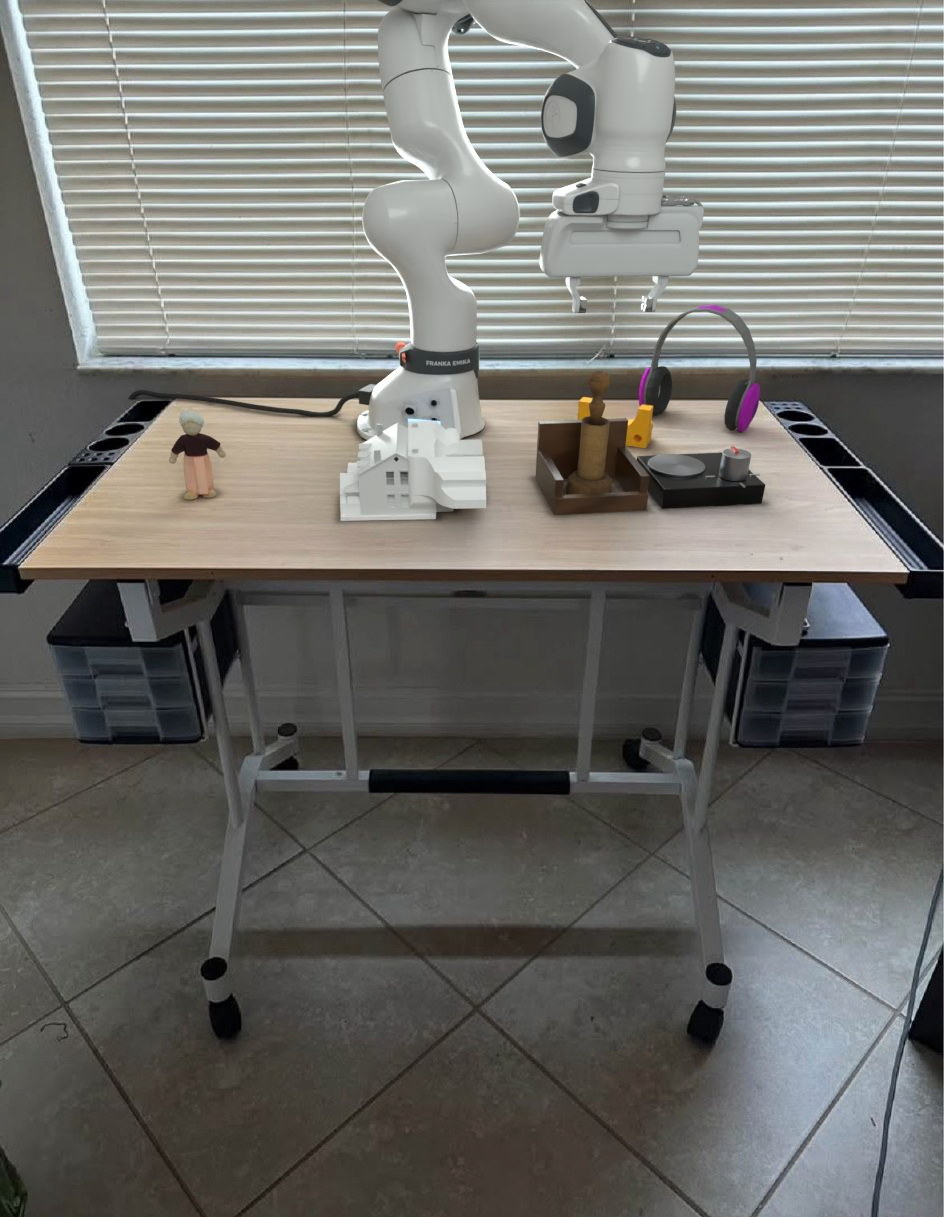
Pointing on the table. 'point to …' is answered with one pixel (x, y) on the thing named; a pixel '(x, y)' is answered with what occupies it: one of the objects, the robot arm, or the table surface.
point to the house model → (413, 474)
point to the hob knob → (734, 464)
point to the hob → (702, 486)
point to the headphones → (743, 395)
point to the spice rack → (561, 461)
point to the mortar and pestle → (593, 443)
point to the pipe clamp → (637, 427)
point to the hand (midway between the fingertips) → (613, 311)
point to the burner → (676, 465)
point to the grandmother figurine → (196, 455)
